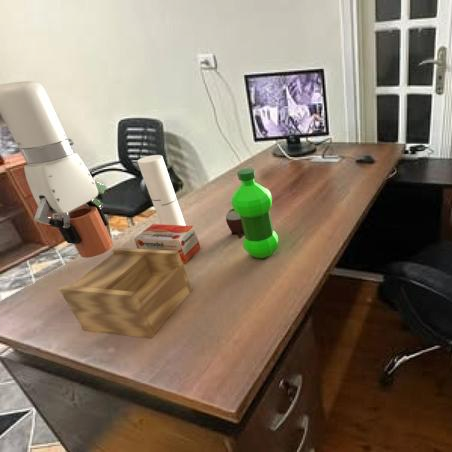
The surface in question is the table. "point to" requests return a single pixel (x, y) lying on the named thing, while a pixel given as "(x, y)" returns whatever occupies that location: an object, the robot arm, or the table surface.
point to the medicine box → (170, 239)
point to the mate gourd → (234, 222)
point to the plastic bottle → (255, 215)
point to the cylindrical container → (161, 190)
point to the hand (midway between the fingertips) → (88, 233)
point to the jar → (90, 232)
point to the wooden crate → (129, 292)
